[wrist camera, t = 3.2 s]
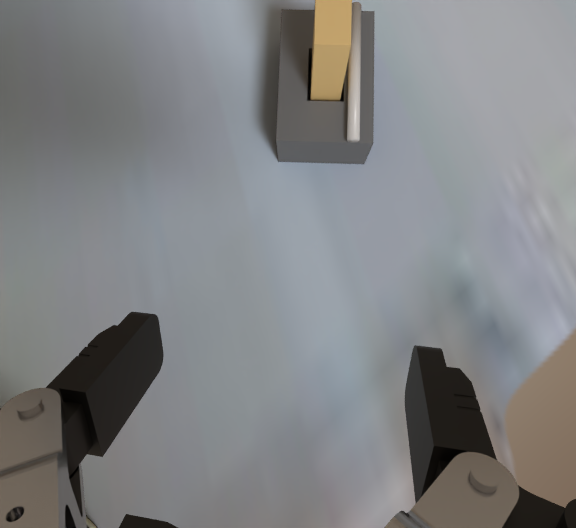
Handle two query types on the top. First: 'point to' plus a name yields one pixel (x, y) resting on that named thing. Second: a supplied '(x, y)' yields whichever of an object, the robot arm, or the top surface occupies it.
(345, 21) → the tall tan rectangular block
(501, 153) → the top surface
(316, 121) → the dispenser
